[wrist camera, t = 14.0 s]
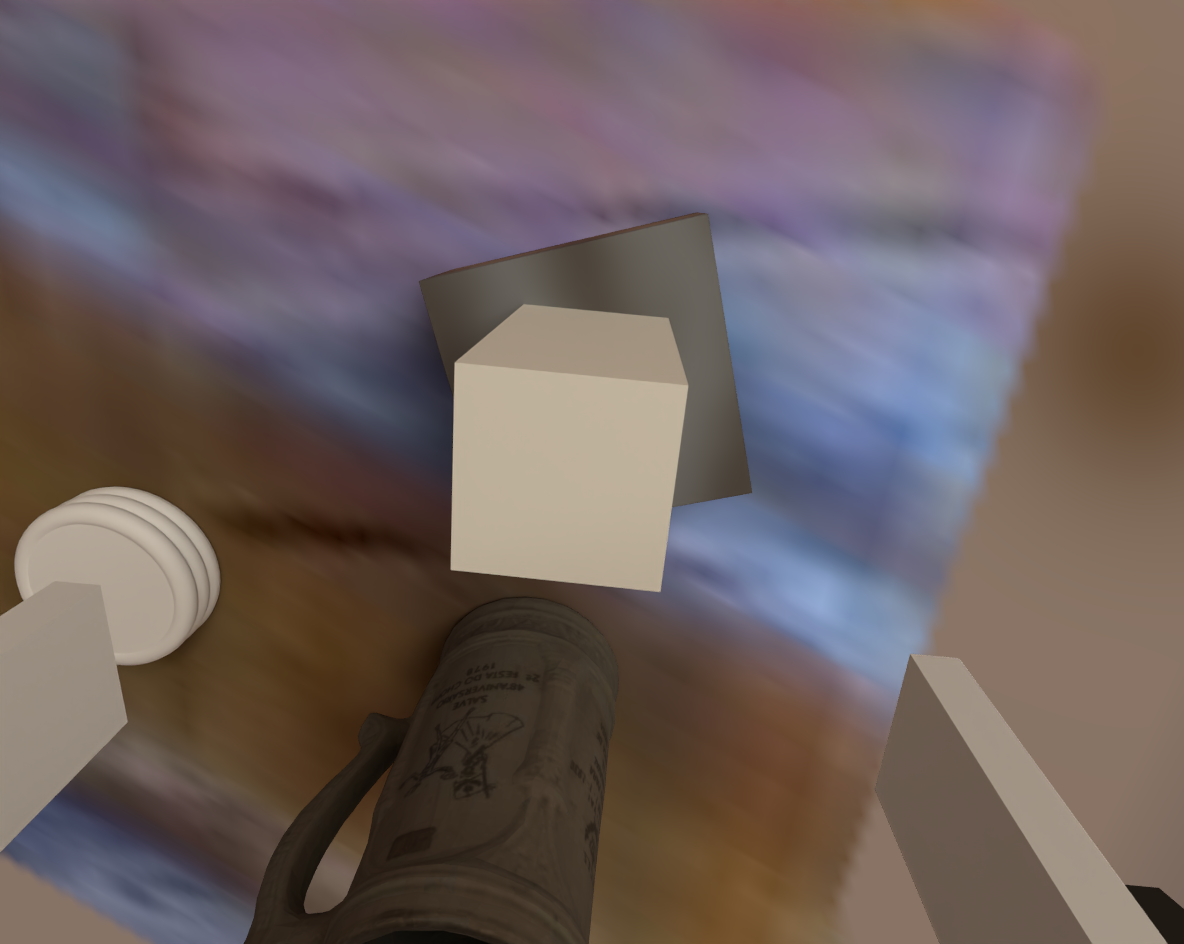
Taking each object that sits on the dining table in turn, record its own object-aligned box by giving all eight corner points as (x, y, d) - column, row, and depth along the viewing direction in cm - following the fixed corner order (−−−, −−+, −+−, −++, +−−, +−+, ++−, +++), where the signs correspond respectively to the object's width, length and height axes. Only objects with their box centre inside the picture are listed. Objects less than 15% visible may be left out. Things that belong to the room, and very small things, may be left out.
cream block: (516, 441, 32) (450, 569, 20) (523, 304, 29) (454, 362, 18) (651, 455, 31) (660, 591, 20) (668, 318, 29) (688, 385, 18)
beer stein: (597, 570, 40) (517, 898, 21) (654, 721, 43) (627, 1116, 25) (361, 628, 43) (118, 950, 25) (430, 762, 47) (261, 1135, 28)
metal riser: (515, 491, 39) (495, 539, 33) (453, 269, 35) (418, 281, 29) (735, 449, 37) (752, 492, 32) (696, 212, 33) (708, 213, 28)
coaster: (91, 450, 40) (41, 472, 36) (252, 545, 41) (218, 575, 38) (35, 578, 43) (-15, 609, 39) (186, 662, 44) (150, 699, 41)
